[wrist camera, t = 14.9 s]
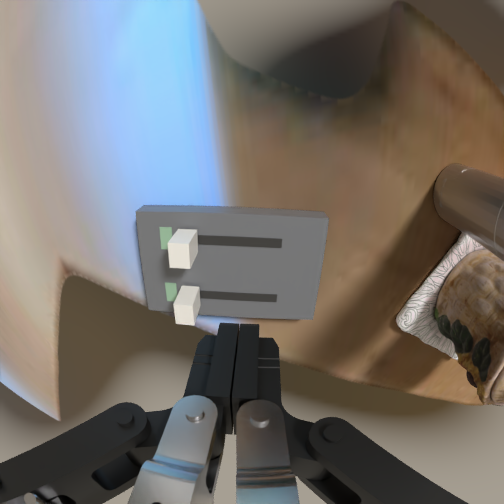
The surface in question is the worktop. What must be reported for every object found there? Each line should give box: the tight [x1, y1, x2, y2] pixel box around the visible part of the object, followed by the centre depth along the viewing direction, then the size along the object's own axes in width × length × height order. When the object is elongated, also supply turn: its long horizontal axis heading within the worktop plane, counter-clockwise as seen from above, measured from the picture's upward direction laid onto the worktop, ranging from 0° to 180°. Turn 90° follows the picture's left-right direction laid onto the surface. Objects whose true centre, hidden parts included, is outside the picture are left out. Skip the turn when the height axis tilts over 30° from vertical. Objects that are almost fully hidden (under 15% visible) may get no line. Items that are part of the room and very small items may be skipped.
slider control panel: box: [136, 205, 329, 320], centre depth 38 cm, size 24×15×3 cm, turn 88°
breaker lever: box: [168, 229, 198, 269], centre depth 33 cm, size 2×3×4 cm
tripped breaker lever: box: [173, 286, 201, 325], centre depth 36 cm, size 2×3×4 cm
